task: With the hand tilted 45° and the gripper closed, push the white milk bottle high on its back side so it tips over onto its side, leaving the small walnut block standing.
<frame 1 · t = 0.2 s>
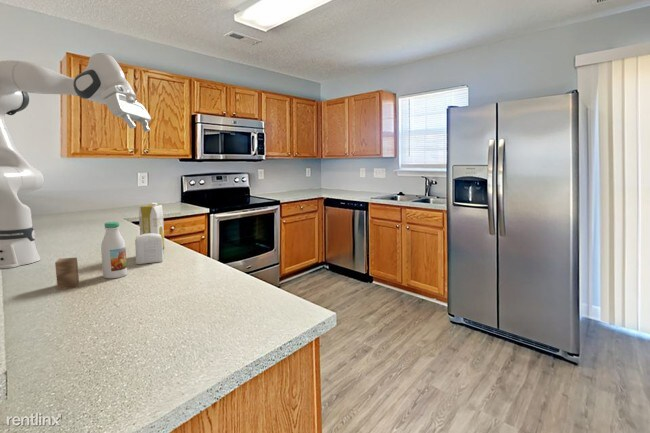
hand: (140, 129, 131), 54 cm above the counter, tool tilted 30°, fingers open, 8 cm apart
milk bottle: (115, 276, 130), on the counter
photo printer: (150, 262, 148), on the counter
walnut block: (68, 285, 118), on the counter
juice carton: (153, 256, 158), on the counter
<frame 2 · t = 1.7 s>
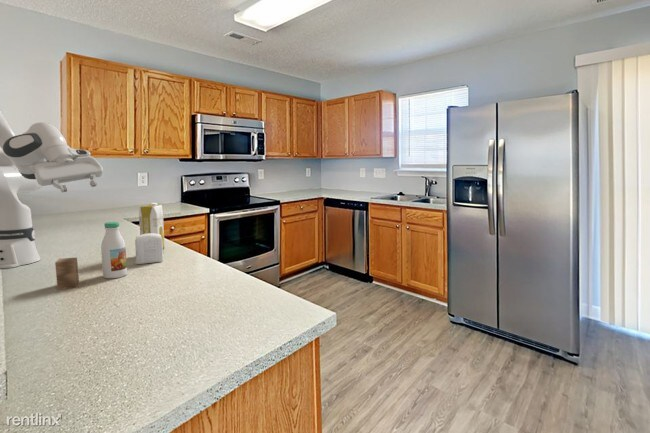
hand: (80, 188, 124), 32 cm above the counter, tool tilted 45°, fingers open, 8 cm apart
nothing on the counter moved.
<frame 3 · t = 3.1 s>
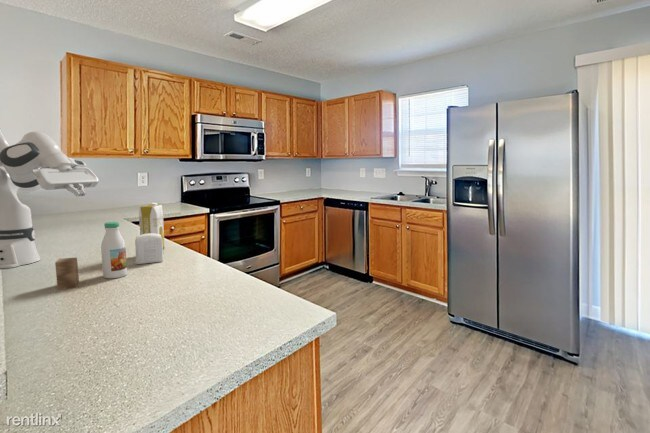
hand: (81, 195, 129), 29 cm above the counter, tool tilted 45°, fingers closed
nothing on the counter moved.
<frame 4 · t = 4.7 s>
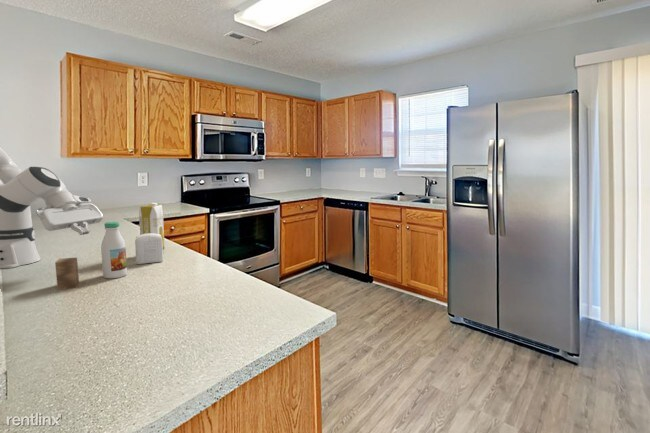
hand: (85, 233, 129), 15 cm above the counter, tool tilted 45°, fingers closed
nothing on the counter moved.
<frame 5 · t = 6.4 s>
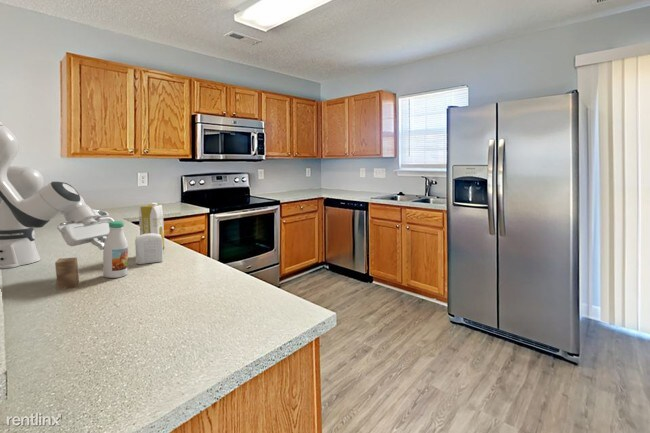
hand: (105, 248, 129), 10 cm above the counter, tool tilted 45°, fingers closed
milk bottle: (115, 275, 130), on the counter, touching gripper
everything else where it was.
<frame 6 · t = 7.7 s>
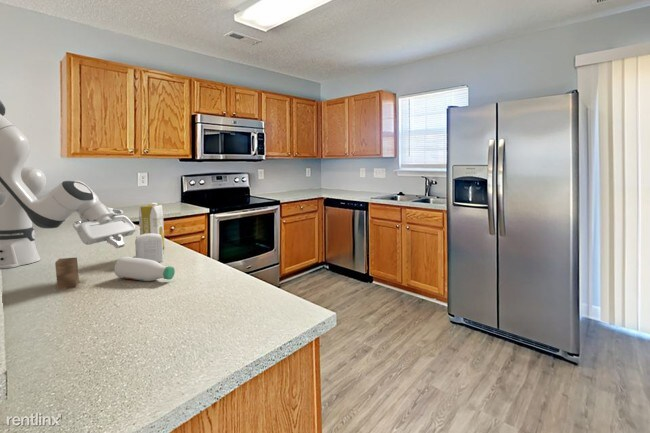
hand: (121, 246, 127), 11 cm above the counter, tool tilted 45°, fingers closed
milk bottle: (121, 266, 127), point 4 cm above the counter
everything else where it was.
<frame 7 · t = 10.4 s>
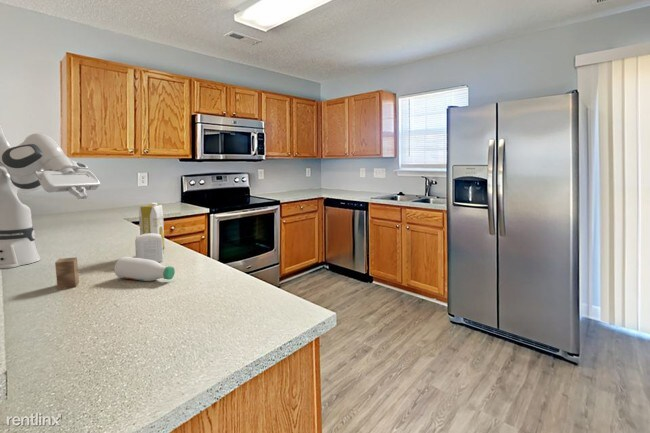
hand: (83, 197, 130), 28 cm above the counter, tool tilted 45°, fingers closed
nothing on the counter moved.
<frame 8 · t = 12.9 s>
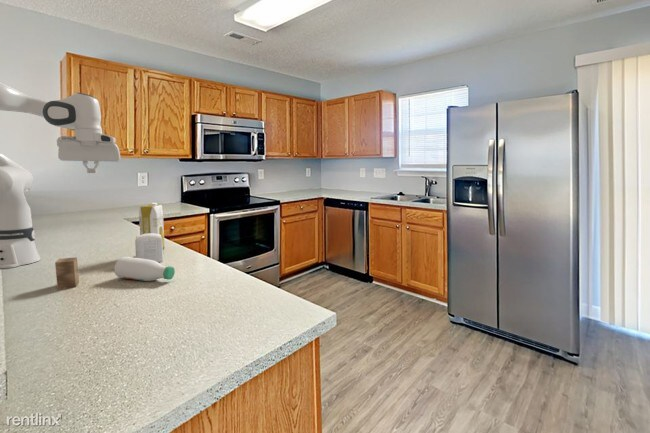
hand: (91, 173, 138), 37 cm above the counter, tool pointing down, fingers closed
nothing on the counter moved.
at the end: milk bottle tilted 92°; milk bottle inside the target area (10.5 cm from its centre), point 4.0 cm above the counter; walnut block tilted 0° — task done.
